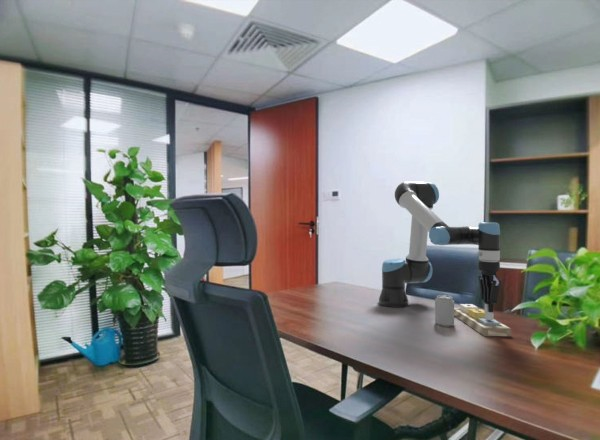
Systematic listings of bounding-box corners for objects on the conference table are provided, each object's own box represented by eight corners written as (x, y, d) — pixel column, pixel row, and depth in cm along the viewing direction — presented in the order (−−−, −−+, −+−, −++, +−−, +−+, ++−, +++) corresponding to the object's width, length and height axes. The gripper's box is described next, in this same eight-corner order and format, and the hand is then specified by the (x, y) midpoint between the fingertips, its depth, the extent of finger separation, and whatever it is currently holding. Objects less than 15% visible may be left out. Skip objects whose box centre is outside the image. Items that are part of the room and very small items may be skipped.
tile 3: (478, 325, 137) (478, 317, 137) (492, 325, 137) (492, 318, 137) (485, 330, 132) (485, 322, 132) (499, 330, 132) (499, 322, 132)
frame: (451, 313, 158) (451, 307, 158) (473, 314, 158) (473, 307, 158) (484, 335, 128) (484, 328, 128) (510, 336, 128) (510, 328, 128)
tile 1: (459, 310, 155) (459, 303, 155) (472, 310, 155) (472, 303, 155) (465, 313, 149) (465, 306, 149) (478, 314, 149) (478, 306, 149)
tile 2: (468, 315, 146) (468, 308, 146) (481, 316, 146) (481, 308, 146) (474, 319, 141) (474, 312, 141) (488, 319, 140) (488, 312, 140)
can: (434, 325, 141) (434, 297, 141) (435, 320, 147) (436, 293, 147) (453, 328, 137) (453, 299, 137) (454, 323, 144) (454, 295, 144)
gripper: (471, 258, 141) (471, 314, 141) (487, 262, 128) (487, 324, 128) (489, 258, 141) (490, 315, 141) (507, 262, 128) (508, 324, 128)
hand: (489, 319), depth 134 cm, fingers closed
